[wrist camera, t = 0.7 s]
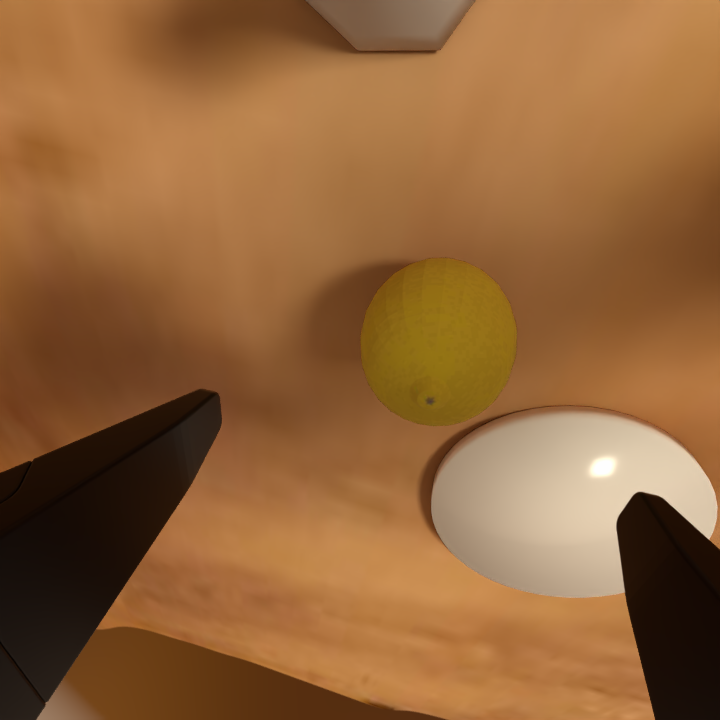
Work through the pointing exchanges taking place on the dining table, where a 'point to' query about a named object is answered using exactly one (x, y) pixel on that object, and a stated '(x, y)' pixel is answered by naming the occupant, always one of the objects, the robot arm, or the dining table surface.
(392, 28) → the flask
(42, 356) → the dining table surface
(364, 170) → the dining table surface
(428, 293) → the lemon
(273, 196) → the dining table surface
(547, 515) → the plate
